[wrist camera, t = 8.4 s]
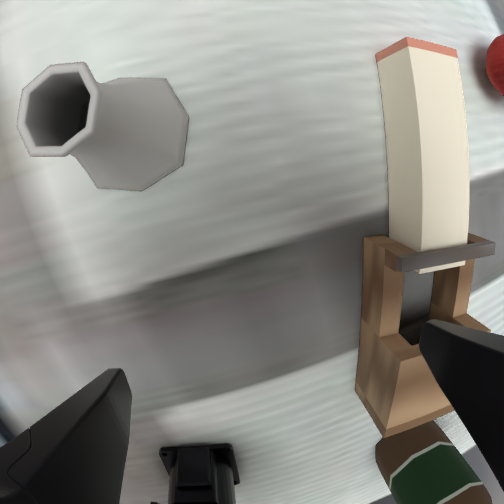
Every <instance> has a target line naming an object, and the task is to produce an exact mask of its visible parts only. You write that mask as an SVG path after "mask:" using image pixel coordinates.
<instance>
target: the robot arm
mask: <svg viewBox="0 0 504 504" xmlns="http://www.w3.org/2000/svg"><path fill="white" fill-rule="evenodd" d="M419 349H420V352H421V354H422V356H423V358H424V359H425V361H426V363H427V365H428V367H429V369H430V371H431V372H432V374H433V376H434V378H435V380H436V382H437V384H438V385H439V387H440V389H441V390H442V392H443V393H444V395H445V396H446V398H447V399H448V401H449V402H450V404H451V405H452V407H453V408H454V410H455V411H456V413H457V414H458V416H459V418H460V419H461V421H462V422H463V424H464V425H465V427H466V428H467V430H468V432H469V433H470V435H471V436H472V438H473V440H474V441H475V443H476V445H477V446H478V448H479V450H480V451H481V453H482V454H483V456H484V458H485V459H486V461H487V463H488V464H489V466H490V468H491V470H492V471H493V473H494V475H495V477H496V479H497V480H498V482H499V484H500V486H501V487H502V489H503V491H504V336H502V335H498V334H494V333H489V332H485V331H481V330H477V329H473V328H469V327H465V326H460V325H456V324H452V323H448V322H444V321H440V320H436V319H433V320H430V321H426V322H424V323H423V325H422V330H421V336H420V342H419ZM131 404H132V393H131V390H130V387H129V384H128V381H127V379H126V376H125V373H124V371H123V370H122V369H121V368H114V369H108V370H106V371H105V372H104V373H102V374H101V375H99V376H98V377H97V378H95V379H94V380H93V381H91V382H90V383H89V384H87V385H86V386H85V387H83V388H82V389H81V390H79V391H78V392H77V393H75V394H74V395H73V396H71V397H70V398H69V399H67V400H66V401H64V402H63V403H62V404H60V405H59V406H58V407H56V408H55V409H54V410H52V411H51V412H50V413H48V414H47V415H46V416H44V417H43V418H41V419H40V420H39V421H37V422H36V423H35V424H33V425H32V426H31V427H30V429H29V428H28V429H26V430H25V431H24V432H22V433H21V434H20V435H18V436H17V437H15V438H14V439H13V440H11V441H10V442H8V443H7V444H5V445H4V446H2V447H0V504H119V501H120V494H121V487H122V480H123V474H124V468H125V462H126V456H127V450H128V444H129V434H130V417H131ZM159 455H160V457H161V459H162V461H163V463H164V466H165V468H166V470H167V472H168V474H169V476H170V480H169V495H168V504H236V499H235V490H234V485H237V484H239V483H240V479H239V475H238V470H237V466H236V462H235V457H234V453H233V448H232V446H231V445H229V444H223V445H212V446H198V447H180V448H161V449H160V451H159ZM151 504H158V503H157V502H151Z"/></svg>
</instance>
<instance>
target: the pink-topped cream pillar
mask: <svg viewBox="0 0 504 504" xmlns="http://www.w3.org/2000/svg"><path fill="white" fill-rule="evenodd" d="M457 58H458V56H457V51H456V49H453V48H449V47H446V46H442V45H438V44H435V43H431V42H427V41H423V40H418V39H414V38H409V37H405V38H403V39H402V40H400V41H398V42H396V43H394V44H393V45H391V46H389V47H387V48H385V49H384V50H382V51H380V52H378V53H377V54H376V61H377V65H378V72H379V79H380V86H381V94H382V103H383V112H384V122H385V133H386V147H387V163H388V188H389V238H390V239H392V240H395V241H397V242H399V243H401V244H403V245H405V246H407V247H409V248H411V249H413V250H415V251H417V252H422V251H428V250H435V249H441V248H447V247H454V246H460V245H466V244H467V237H468V221H469V150H468V134H467V123H466V113H465V104H464V96H463V89H462V82H461V76H460V70H459V65H458V59H457ZM462 265H465V261H460V262H455V263H450V264H445V265H440V266H434V267H429V268H424V269H418V270H414V271H415V272H417V273H419V274H422V273H427V272H432V271H438V270H443V269H448V268H453V267H457V266H462Z"/></svg>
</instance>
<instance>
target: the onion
mask: <svg viewBox="0 0 504 504" xmlns="http://www.w3.org/2000/svg"><path fill="white" fill-rule="evenodd" d="M486 74H487V76H488V78H489V80H490V81H491V83H492V85H493V86H494V87H495V88H496V89H497V91H499V92H500V93H501V94H502V95H503V96H504V34H503V35H500V36H498V37H496V38H495V39H494V40H493V42H492V43H491V44H490V46H489V47H488V52H487V57H486Z"/></svg>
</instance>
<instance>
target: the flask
mask: <svg viewBox="0 0 504 504" xmlns="http://www.w3.org/2000/svg"><path fill="white" fill-rule="evenodd" d="M188 120H189V116H188V115H187V113H186V111H185V110H184V108H183V106H182V105H181V103H180V101H179V100H178V98H177V96H176V95H175V93H174V91H173V90H172V88H171V86H170V85H169V83H168V81H167V80H166V79H161V78H117V79H114V80H112V81H109V82H106V83H102V84H101V83H98V82H96V80H95V78H94V77H93V75H92V73H91V71H90V69H89V67H88V65H87V64H86V63H85V62H76V63H65V64H55V65H50V66H49V67H47V68H46V69H45V70H44V71H43V72H42V73H40V74H39V75H38V76H37V77H36V78H35V79H33V80H32V81H31V82H30V83H29V84H28V85H27V86H26V87H25V88H23V89H22V94H21V99H20V105H19V112H18V118H17V126H16V127H17V129H18V131H19V133H20V136H21V138H22V140H23V142H24V144H25V146H26V148H27V151H28V153H29V155H30V156H32V157H65V156H67V155H69V154H70V155H72V156H74V157H76V159H77V160H78V161H79V163H80V164H81V165H82V167H83V168H84V169H85V170H86V172H87V173H88V175H89V176H90V178H91V179H92V181H93V183H94V184H95V186H96V187H97V188H101V189H117V190H131V191H143V190H145V189H146V188H148V187H149V186H151V185H152V184H154V183H155V182H157V181H158V180H160V179H161V178H163V177H165V176H166V175H168V174H169V173H171V172H173V171H174V170H176V169H177V168H179V167H181V166H182V165H183V159H184V151H185V143H186V135H187V127H188Z"/></svg>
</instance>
